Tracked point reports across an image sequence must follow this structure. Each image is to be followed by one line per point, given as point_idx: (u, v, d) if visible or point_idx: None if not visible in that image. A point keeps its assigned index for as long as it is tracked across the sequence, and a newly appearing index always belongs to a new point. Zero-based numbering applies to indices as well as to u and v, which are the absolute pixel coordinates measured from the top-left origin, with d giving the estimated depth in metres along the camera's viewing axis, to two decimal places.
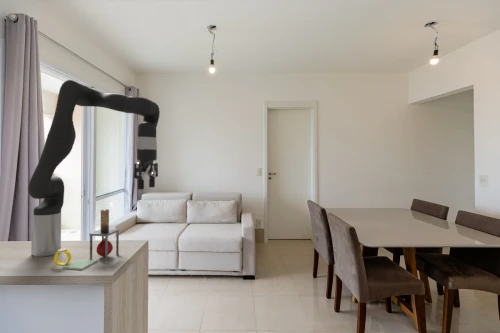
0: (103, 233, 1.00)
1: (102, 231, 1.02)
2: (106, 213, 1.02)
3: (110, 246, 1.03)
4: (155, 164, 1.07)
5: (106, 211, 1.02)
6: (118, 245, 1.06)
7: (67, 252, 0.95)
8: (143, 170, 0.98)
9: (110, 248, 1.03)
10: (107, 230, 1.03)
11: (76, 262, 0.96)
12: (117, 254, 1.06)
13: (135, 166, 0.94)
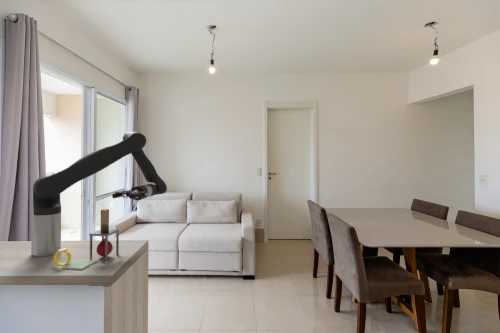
0: (103, 233, 1.00)
1: (102, 231, 1.02)
2: (106, 213, 1.02)
3: (110, 246, 1.03)
4: None
5: (106, 211, 1.02)
6: (118, 245, 1.06)
7: (67, 252, 0.95)
8: None
9: (110, 248, 1.03)
10: (107, 230, 1.03)
11: (76, 262, 0.96)
12: (117, 254, 1.06)
13: (146, 192, 1.22)
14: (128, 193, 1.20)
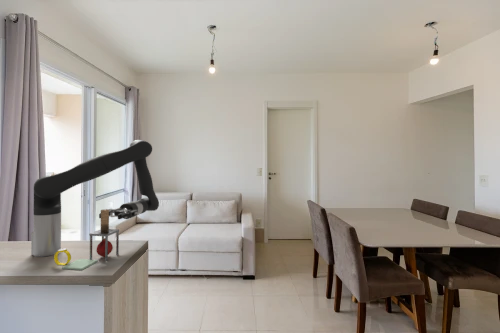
0: (103, 233, 1.00)
1: (102, 231, 1.02)
2: (106, 213, 1.02)
3: (110, 246, 1.03)
4: None
5: (106, 211, 1.02)
6: (118, 245, 1.06)
7: (67, 252, 0.95)
8: None
9: (110, 248, 1.03)
10: (107, 230, 1.03)
11: (76, 262, 0.96)
12: (117, 254, 1.06)
13: (136, 211, 1.14)
14: (116, 212, 1.12)
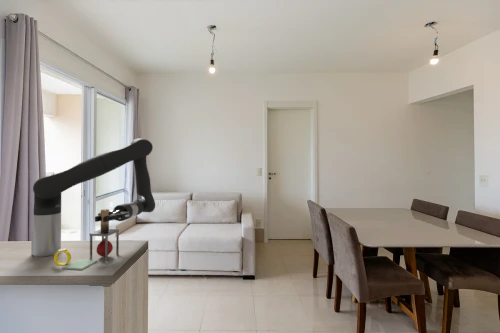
0: (103, 233, 1.00)
1: (102, 231, 1.02)
2: (106, 213, 1.02)
3: (110, 246, 1.03)
4: None
5: (106, 211, 1.02)
6: (118, 245, 1.06)
7: (67, 252, 0.95)
8: None
9: (110, 248, 1.03)
10: (107, 230, 1.03)
11: (76, 262, 0.96)
12: (117, 254, 1.06)
13: (126, 214, 1.08)
14: None
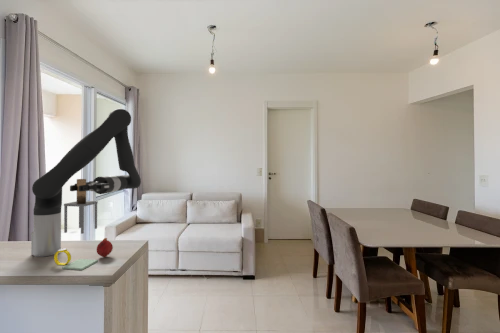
0: (79, 203, 0.92)
1: (78, 202, 0.94)
2: (83, 182, 0.94)
3: (110, 246, 1.03)
4: None
5: (83, 180, 0.94)
6: None
7: (67, 252, 0.95)
8: None
9: (110, 248, 1.03)
10: (84, 201, 0.95)
11: (76, 262, 0.96)
12: (95, 228, 0.98)
13: (106, 185, 1.00)
14: None
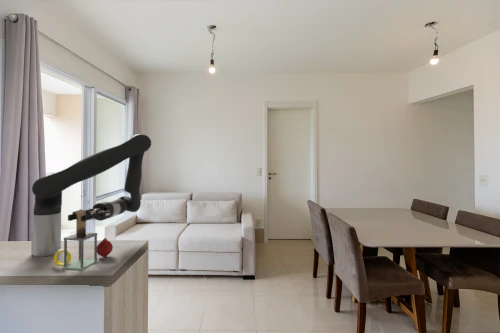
0: (79, 237, 0.92)
1: (78, 235, 0.94)
2: None
3: (110, 246, 1.03)
4: None
5: (82, 213, 0.94)
6: (96, 250, 0.98)
7: (67, 252, 0.95)
8: None
9: (110, 248, 1.03)
10: (83, 234, 0.95)
11: (76, 262, 0.96)
12: (95, 260, 0.98)
13: (107, 212, 1.00)
14: (90, 213, 0.99)
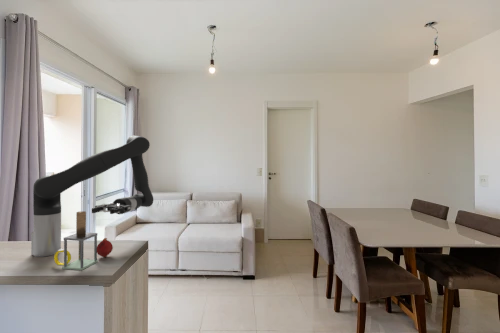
0: (79, 237, 0.92)
1: (78, 235, 0.94)
2: (82, 215, 0.94)
3: (110, 246, 1.03)
4: None
5: (82, 213, 0.94)
6: (96, 250, 0.98)
7: (67, 252, 0.95)
8: None
9: (110, 248, 1.03)
10: (83, 234, 0.95)
11: (76, 262, 0.96)
12: (95, 260, 0.98)
13: (129, 206, 1.14)
14: (109, 207, 1.12)
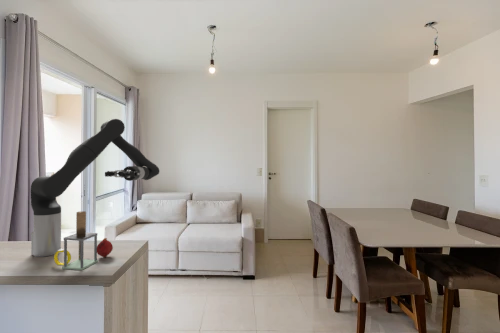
0: (79, 237, 0.92)
1: (78, 235, 0.94)
2: (82, 215, 0.94)
3: (110, 246, 1.03)
4: None
5: (82, 213, 0.94)
6: (96, 250, 0.98)
7: (67, 252, 0.95)
8: None
9: (110, 248, 1.03)
10: (83, 234, 0.95)
11: (76, 262, 0.96)
12: (95, 260, 0.98)
13: (138, 172, 1.24)
14: (120, 173, 1.22)
